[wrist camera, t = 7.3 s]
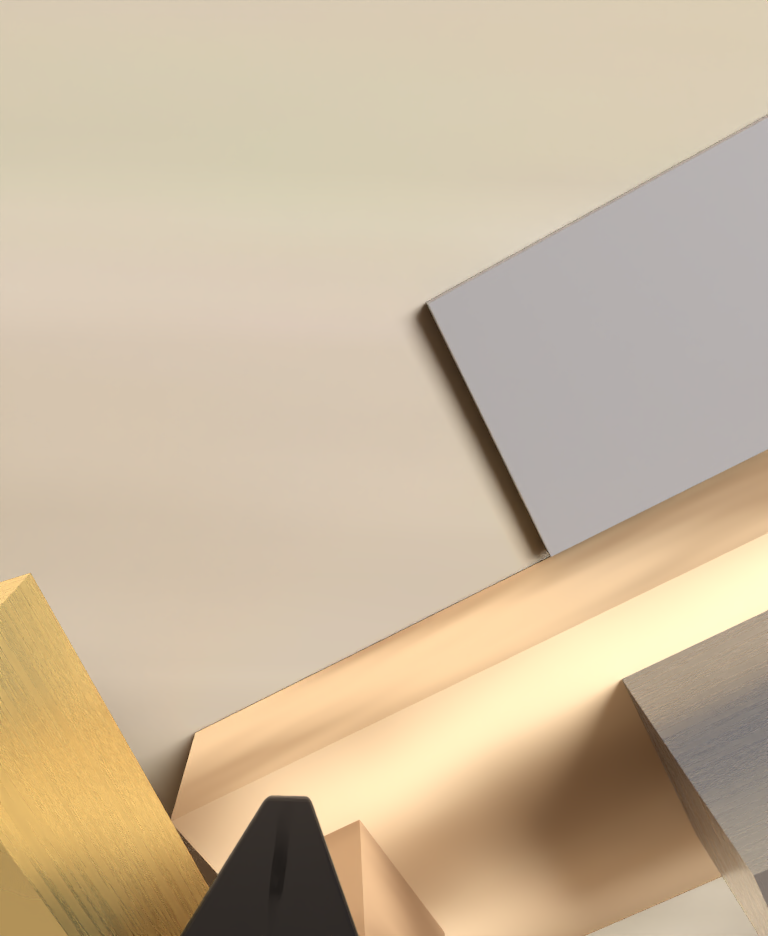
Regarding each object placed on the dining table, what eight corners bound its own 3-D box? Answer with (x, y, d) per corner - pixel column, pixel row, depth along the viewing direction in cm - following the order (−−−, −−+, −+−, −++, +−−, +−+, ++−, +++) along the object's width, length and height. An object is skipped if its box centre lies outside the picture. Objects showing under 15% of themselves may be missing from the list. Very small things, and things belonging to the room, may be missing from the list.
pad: (856, 395, 16) (869, 398, 16) (546, 549, 17) (551, 556, 17) (784, 105, 14) (797, 100, 13) (425, 302, 15) (428, 303, 14)
